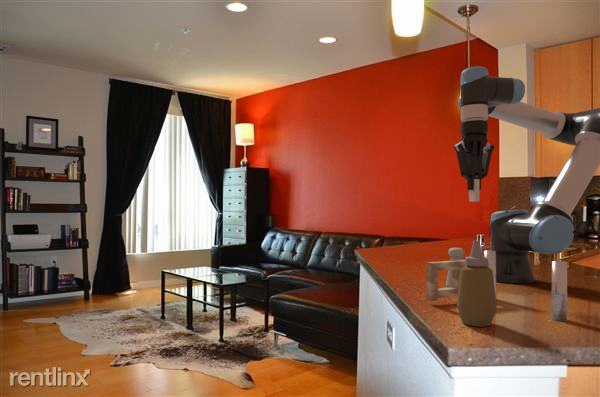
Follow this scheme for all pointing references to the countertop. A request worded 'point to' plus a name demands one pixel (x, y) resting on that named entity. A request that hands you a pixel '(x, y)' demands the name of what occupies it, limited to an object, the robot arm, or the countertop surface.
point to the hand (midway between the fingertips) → (474, 201)
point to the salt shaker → (455, 255)
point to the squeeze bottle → (476, 290)
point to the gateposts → (557, 285)
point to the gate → (432, 279)
